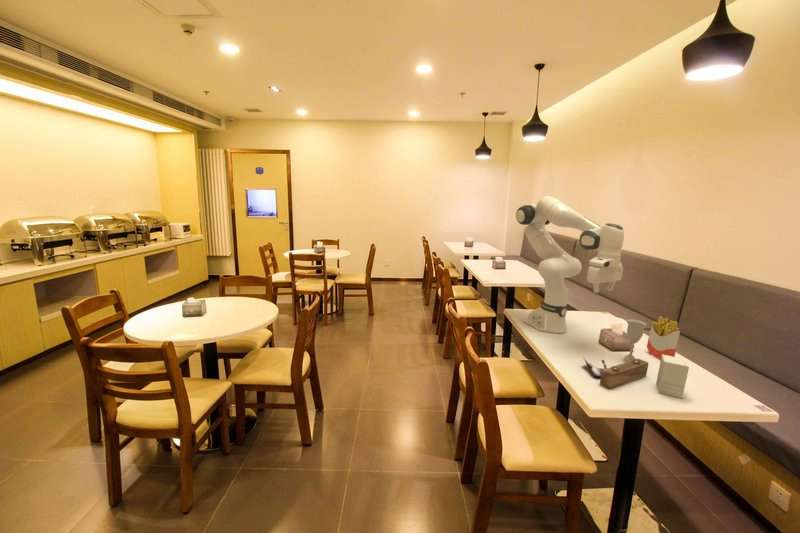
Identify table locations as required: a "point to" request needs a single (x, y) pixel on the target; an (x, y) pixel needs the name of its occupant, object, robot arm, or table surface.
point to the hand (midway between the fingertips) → (602, 291)
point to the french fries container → (663, 338)
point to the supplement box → (672, 376)
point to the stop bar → (623, 373)
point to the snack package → (596, 368)
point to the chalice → (634, 336)
